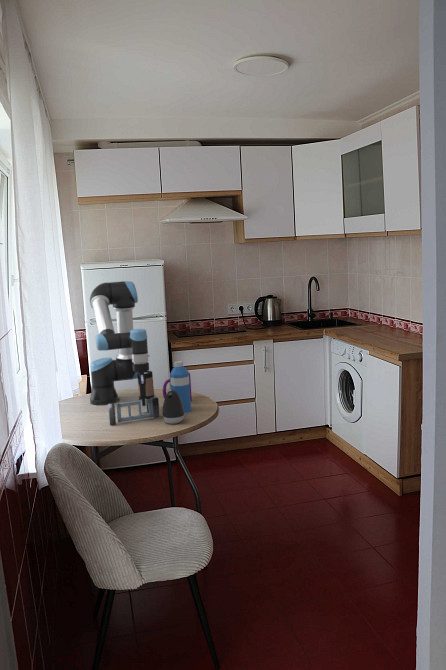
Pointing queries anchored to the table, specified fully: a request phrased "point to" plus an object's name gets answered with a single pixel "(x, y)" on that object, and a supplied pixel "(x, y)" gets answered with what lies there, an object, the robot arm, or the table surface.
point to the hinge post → (112, 414)
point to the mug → (169, 381)
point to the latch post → (155, 407)
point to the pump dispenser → (173, 408)
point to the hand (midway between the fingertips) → (144, 412)
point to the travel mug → (148, 386)
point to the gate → (130, 411)
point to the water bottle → (181, 384)
